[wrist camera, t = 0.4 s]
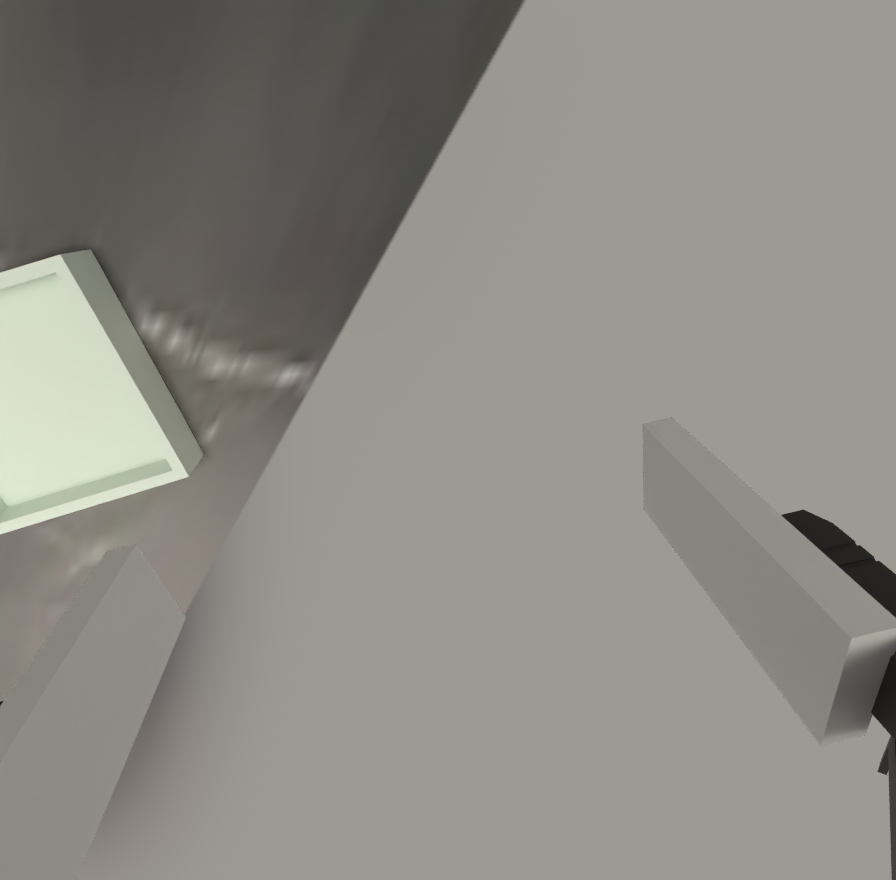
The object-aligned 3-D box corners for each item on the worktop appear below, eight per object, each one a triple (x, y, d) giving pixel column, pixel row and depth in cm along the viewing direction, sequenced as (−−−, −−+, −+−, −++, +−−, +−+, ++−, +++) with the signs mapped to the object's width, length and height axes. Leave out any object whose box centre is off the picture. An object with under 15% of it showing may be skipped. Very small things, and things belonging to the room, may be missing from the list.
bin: (-141, 319, 33) (-197, 332, 30) (90, 249, 33) (60, 254, 30) (11, 512, 40) (-20, 540, 37) (203, 454, 40) (189, 476, 37)
